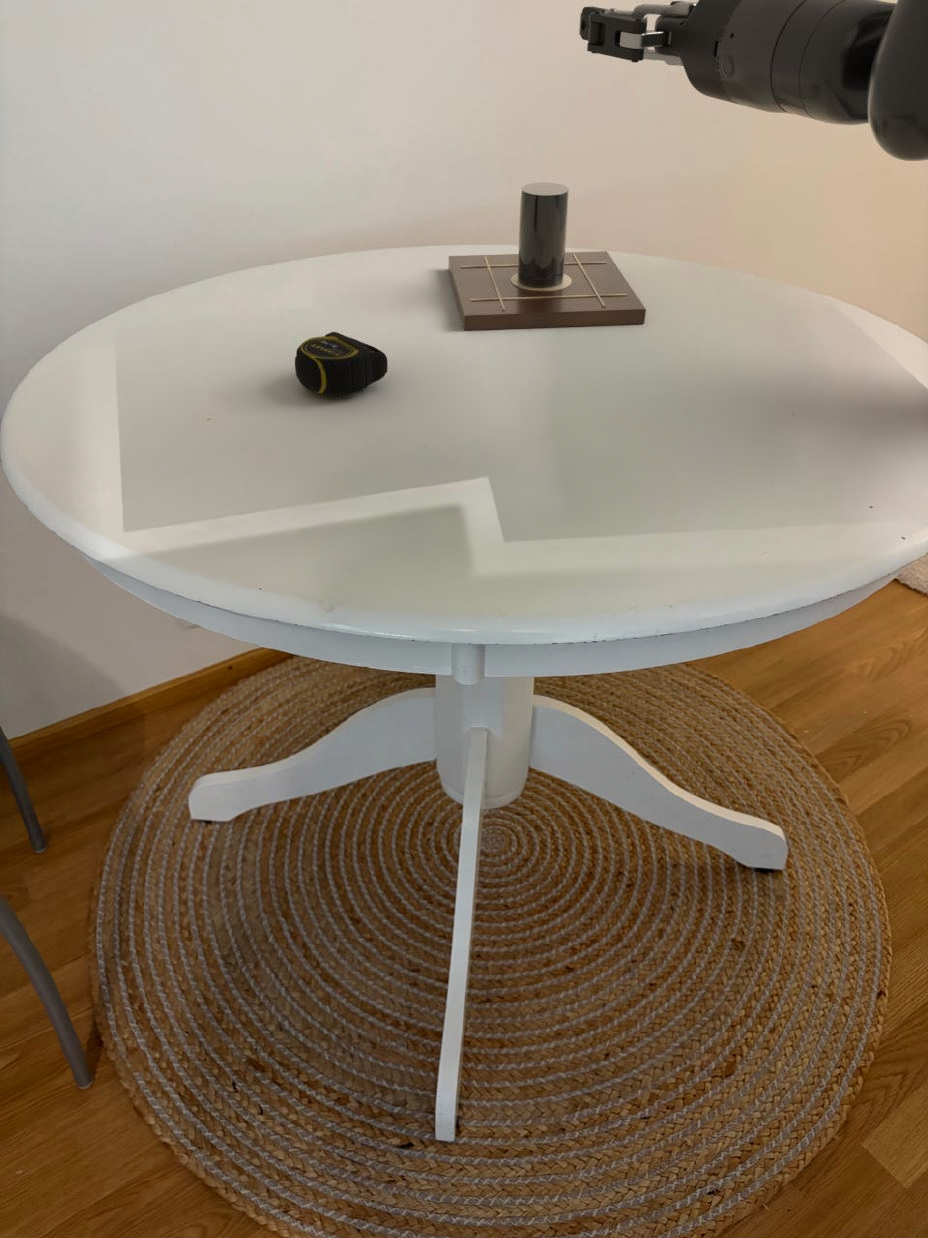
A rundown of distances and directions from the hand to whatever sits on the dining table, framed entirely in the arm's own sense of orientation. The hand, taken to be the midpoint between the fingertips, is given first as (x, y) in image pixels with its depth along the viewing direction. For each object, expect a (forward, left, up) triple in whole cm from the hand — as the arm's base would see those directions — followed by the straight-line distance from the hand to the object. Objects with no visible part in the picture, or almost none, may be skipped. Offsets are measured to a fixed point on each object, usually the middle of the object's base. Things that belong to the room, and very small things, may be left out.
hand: (628, 19), depth 77 cm
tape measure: (+25, +10, -26) cm, 38 cm away
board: (+4, -10, -26) cm, 28 cm away
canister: (+4, -10, -24) cm, 27 cm away
